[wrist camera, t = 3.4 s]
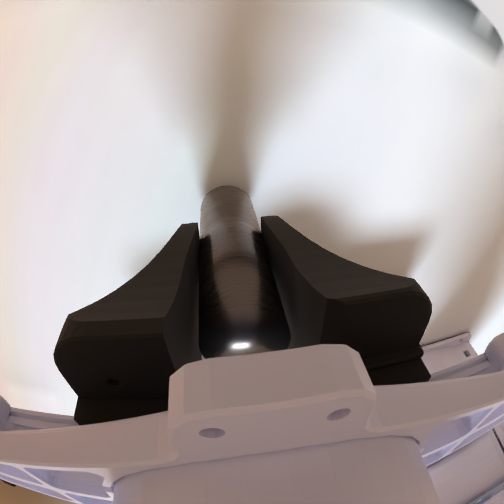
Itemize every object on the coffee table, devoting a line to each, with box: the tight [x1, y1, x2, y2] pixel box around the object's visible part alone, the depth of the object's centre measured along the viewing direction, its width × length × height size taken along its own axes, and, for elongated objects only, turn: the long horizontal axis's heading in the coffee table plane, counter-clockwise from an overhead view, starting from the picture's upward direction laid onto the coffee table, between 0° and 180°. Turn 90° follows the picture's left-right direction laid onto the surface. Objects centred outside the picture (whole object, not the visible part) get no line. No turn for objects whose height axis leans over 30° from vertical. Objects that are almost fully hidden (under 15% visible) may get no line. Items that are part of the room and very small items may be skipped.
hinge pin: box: [199, 186, 291, 359], centre depth 11 cm, size 2×2×8 cm
